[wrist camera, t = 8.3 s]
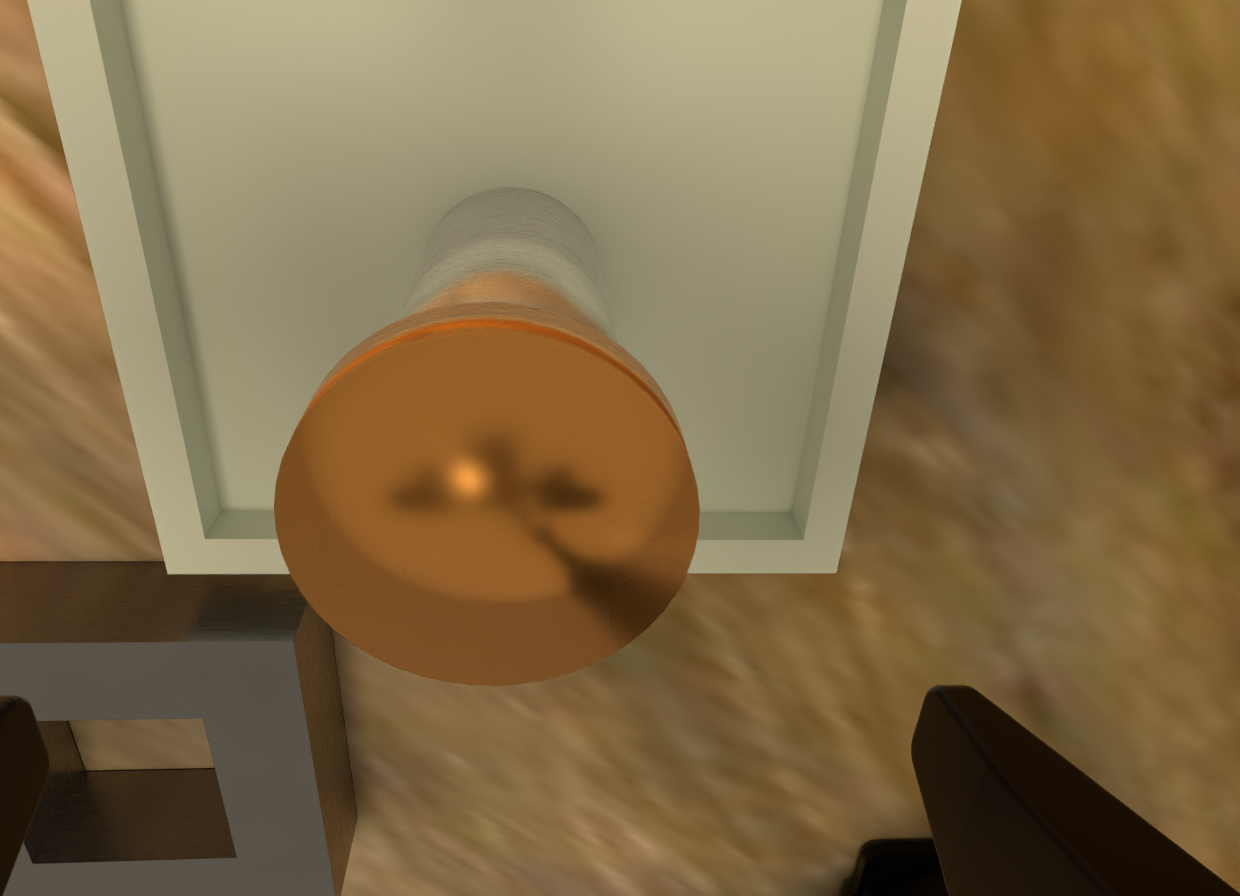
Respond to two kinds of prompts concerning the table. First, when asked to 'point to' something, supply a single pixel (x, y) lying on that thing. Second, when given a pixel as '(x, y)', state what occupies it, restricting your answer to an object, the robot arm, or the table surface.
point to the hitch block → (180, 689)
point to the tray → (486, 159)
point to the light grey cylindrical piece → (491, 464)
